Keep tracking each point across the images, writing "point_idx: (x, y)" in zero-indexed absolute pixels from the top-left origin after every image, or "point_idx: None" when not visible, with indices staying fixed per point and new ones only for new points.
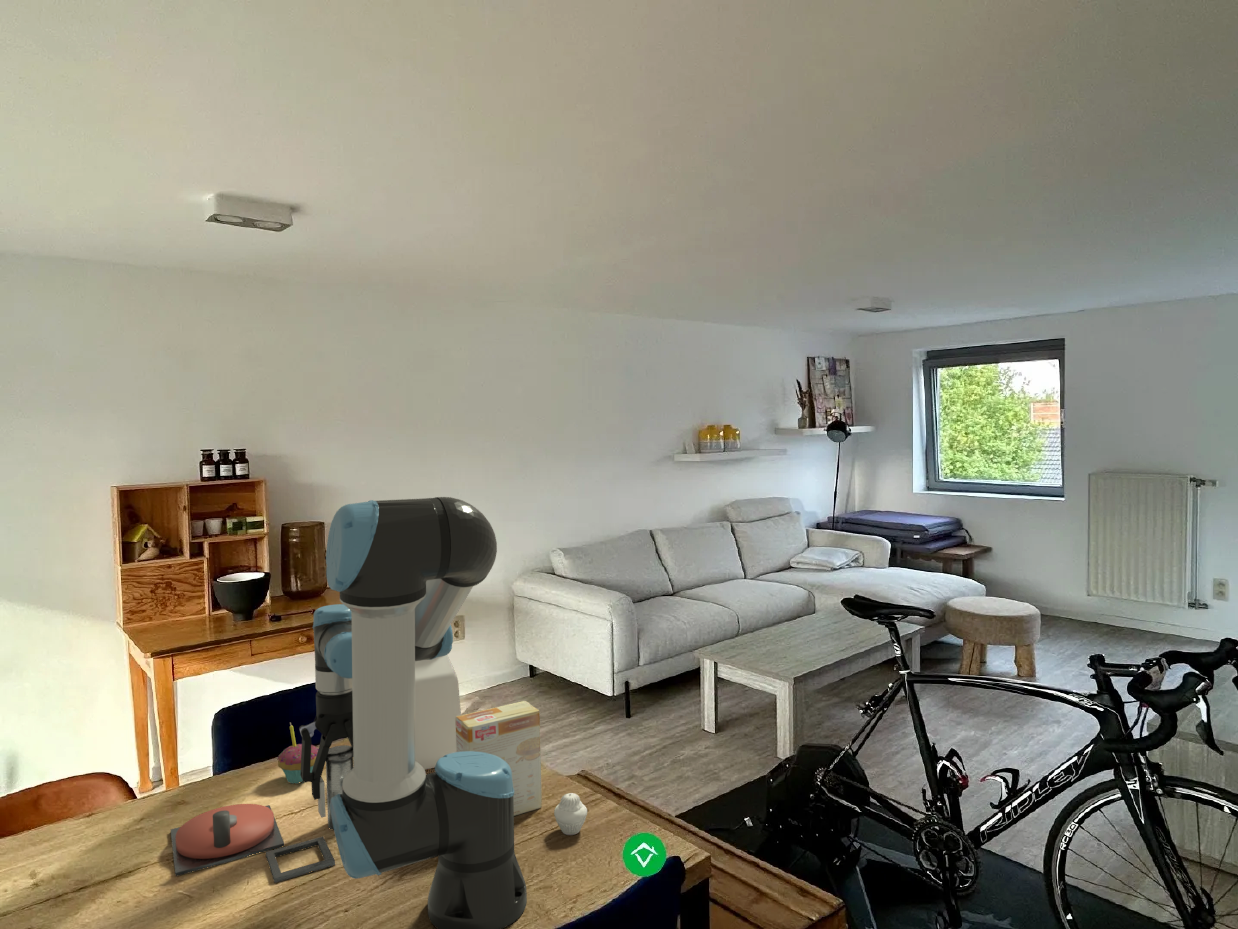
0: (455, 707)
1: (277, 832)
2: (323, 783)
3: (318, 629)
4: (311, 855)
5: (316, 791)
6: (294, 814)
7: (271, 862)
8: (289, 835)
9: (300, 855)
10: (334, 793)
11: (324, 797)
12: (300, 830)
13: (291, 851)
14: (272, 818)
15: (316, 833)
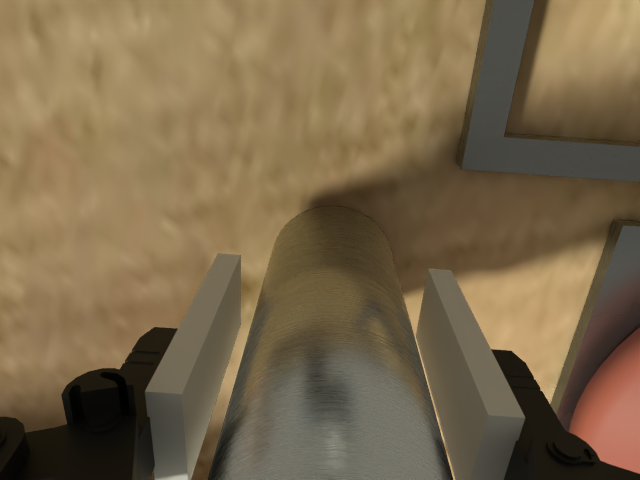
0: None
1: (596, 333)
2: (494, 410)
3: None
4: (561, 51)
5: (517, 388)
6: None
7: None
8: (548, 301)
9: (600, 89)
10: (396, 325)
11: (457, 333)
12: (495, 314)
13: (624, 143)
14: (625, 402)
15: (452, 249)
